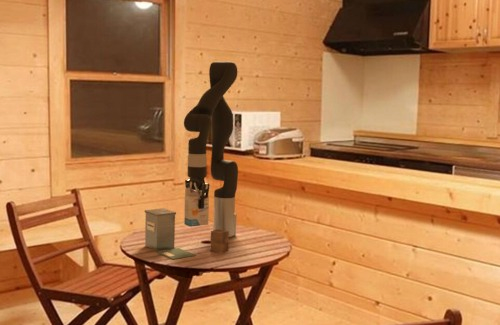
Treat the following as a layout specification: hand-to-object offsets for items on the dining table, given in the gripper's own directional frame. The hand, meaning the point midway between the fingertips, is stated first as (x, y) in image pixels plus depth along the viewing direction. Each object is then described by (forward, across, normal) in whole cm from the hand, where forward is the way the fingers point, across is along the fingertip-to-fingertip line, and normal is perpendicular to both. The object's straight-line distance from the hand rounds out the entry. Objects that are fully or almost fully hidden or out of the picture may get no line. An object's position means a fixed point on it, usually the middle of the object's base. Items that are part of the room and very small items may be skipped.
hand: (196, 207), depth 230 cm
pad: (+16, -3, +12) cm, 20 cm away
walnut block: (+17, -8, -5) cm, 19 cm away
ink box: (+7, 0, 0) cm, 7 cm away
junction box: (+17, +9, +12) cm, 22 cm away
